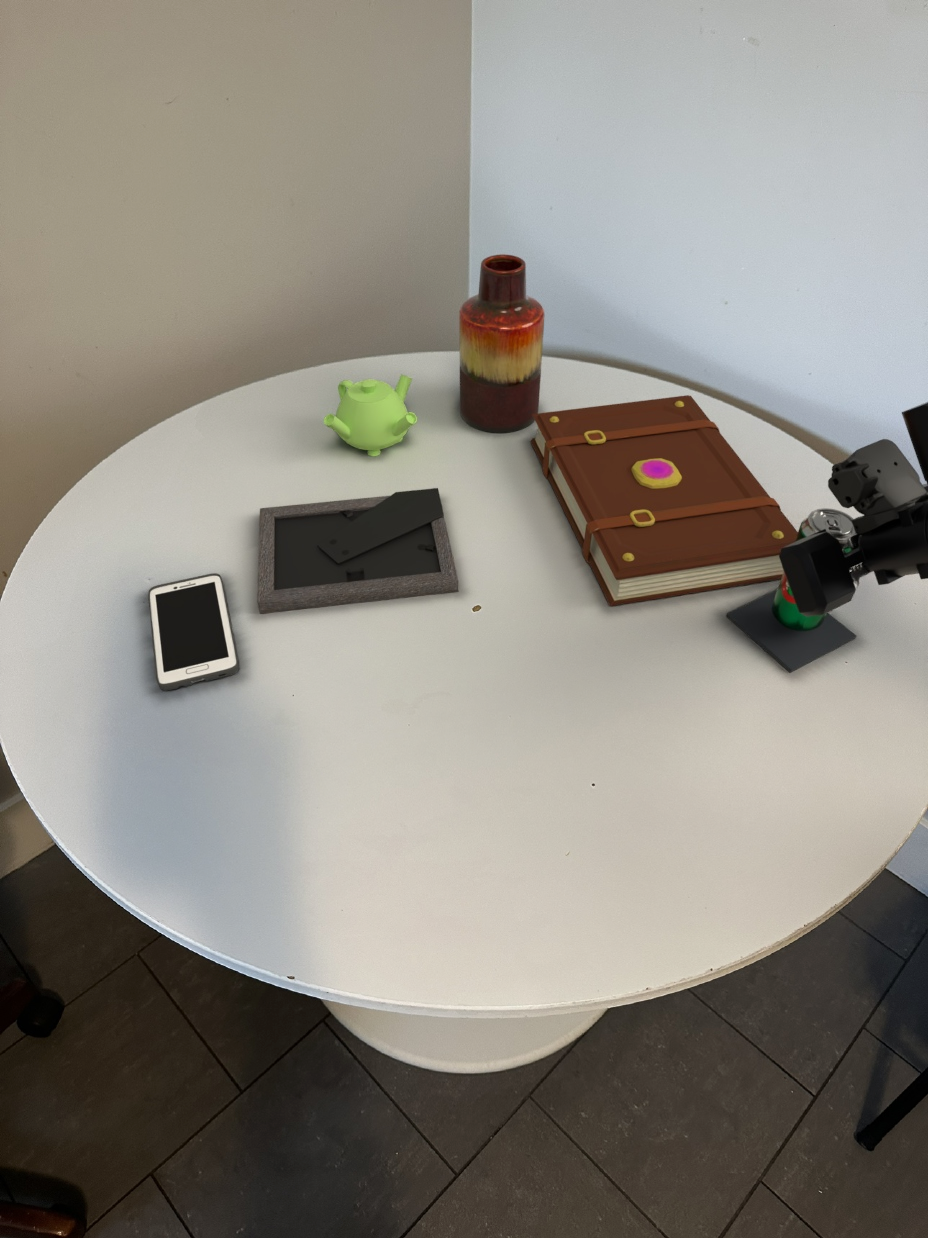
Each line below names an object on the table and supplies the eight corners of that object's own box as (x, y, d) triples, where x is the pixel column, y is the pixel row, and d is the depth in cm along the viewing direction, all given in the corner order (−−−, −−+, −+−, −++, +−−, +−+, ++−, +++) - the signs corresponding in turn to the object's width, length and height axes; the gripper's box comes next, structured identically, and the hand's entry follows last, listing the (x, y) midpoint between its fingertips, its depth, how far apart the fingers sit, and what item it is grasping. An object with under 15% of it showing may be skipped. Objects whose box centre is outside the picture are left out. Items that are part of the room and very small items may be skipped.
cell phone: (159, 694, 78) (156, 687, 77) (149, 593, 87) (146, 586, 87) (241, 674, 79) (239, 667, 79) (222, 577, 89) (220, 570, 88)
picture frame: (438, 501, 99) (262, 518, 96) (438, 487, 97) (259, 505, 95) (458, 591, 88) (259, 613, 85) (458, 577, 86) (256, 600, 84)
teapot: (333, 418, 112) (326, 361, 106) (417, 415, 112) (414, 358, 106) (329, 465, 104) (320, 407, 98) (419, 462, 104) (416, 403, 98)
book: (607, 607, 86) (613, 572, 82) (528, 442, 107) (530, 409, 104) (806, 576, 89) (820, 540, 85) (690, 422, 111) (697, 388, 107)
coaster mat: (789, 586, 88) (790, 582, 87) (855, 639, 82) (856, 635, 82) (726, 616, 85) (727, 612, 84) (790, 673, 79) (791, 669, 79)
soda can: (817, 601, 84) (855, 507, 75) (826, 636, 80) (868, 542, 72) (766, 597, 84) (799, 503, 76) (773, 632, 81) (808, 538, 72)
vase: (554, 414, 112) (567, 264, 98) (494, 442, 107) (498, 289, 93) (502, 383, 118) (507, 238, 103) (444, 408, 113) (440, 260, 99)
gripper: (995, 402, 66) (845, 452, 81) (832, 469, 60) (701, 511, 75) (1038, 530, 67) (882, 557, 82) (882, 611, 61) (742, 624, 75)
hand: (804, 559), depth 78 cm, fingers closed on soda can, 5 cm apart
